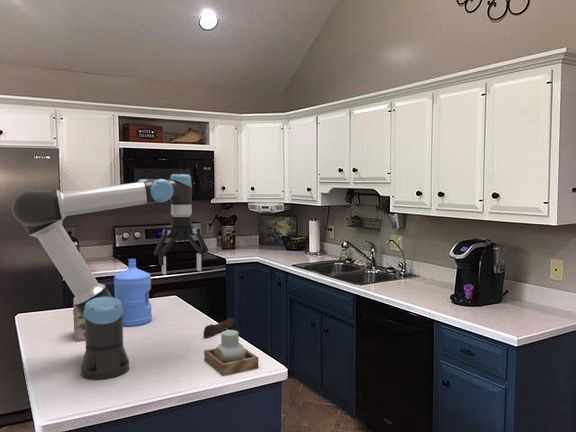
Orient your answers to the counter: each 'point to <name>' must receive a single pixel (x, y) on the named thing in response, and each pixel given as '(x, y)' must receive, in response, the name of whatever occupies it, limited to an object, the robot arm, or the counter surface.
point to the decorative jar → (78, 324)
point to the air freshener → (230, 347)
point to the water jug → (134, 295)
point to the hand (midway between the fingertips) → (181, 272)
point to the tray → (231, 363)
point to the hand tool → (218, 327)
